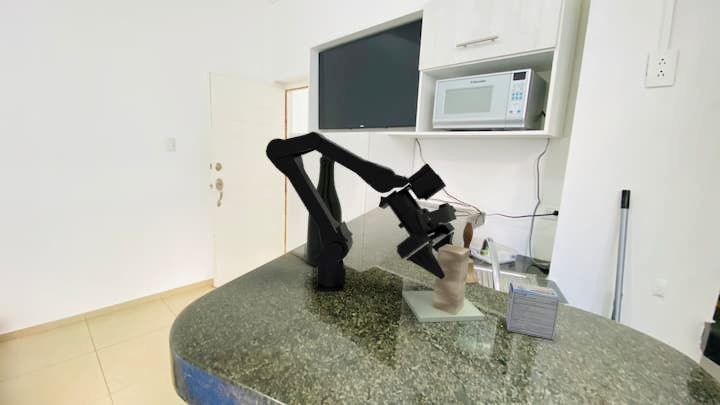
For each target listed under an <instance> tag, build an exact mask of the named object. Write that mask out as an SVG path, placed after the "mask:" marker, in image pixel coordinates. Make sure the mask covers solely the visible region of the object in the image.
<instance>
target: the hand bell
mask: <svg viewBox="0 0 720 405" xmlns="http://www.w3.org/2000/svg"><path fill="white" fill-rule="evenodd" d="M473 228H474V227H473V224H472V222H469V221H467V222H466V224H465V226H464V228H463V231H462V239H463V248H467V249H470V246H471V243H472V241H473V236H474V229H473ZM479 282H480V279H479V276H478V275H477V274H476V271H475V268H474V260H473V259H472V258H470V257H469V262H468V271H467V280H466V284H476V283H479Z"/></svg>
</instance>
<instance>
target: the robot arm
mask: <svg viewBox="0 0 720 405" xmlns="http://www.w3.org/2000/svg"><path fill="white" fill-rule="evenodd" d="M315 151H316V152H317V153H319V154H321V155H322V154H323V155H325V156H326V157H328V158H330V159H332V160H333V161H335V163H337V164H339V165H341V166H342V167H344V168H346V169H348V171H349V170H350V171H351V172H353V173H355V174H356V175H357V176H358V177H359V178H361V179H362V180H363V181H364V182H365V183H366V184H367V185H368V186H370V187H371V188H372V189H373V190H374V191H375V192H378V193H381V194H387V193H389V192H391V191H392V192H391V193H390V194H388V195H387V196H382V195H381V196H380V197H379V198H380V200H379V203H378V207H379V208H381V209H383V210H385V209H386V208H388V207H389V208H390V210H391V211H392V212H393V213H394V215H395V217H396V219H398V221H399V223H398V225H397V226H398V228H399V229H403V228H404V230H405V231H406V233H407V234H408V235H409V236H408V237H407V238H405V239H404V240H403V241H402V242H400V243H399V244H398V245H397V248H396V253H397V254H398V255H399V257H400V258H401V260H403V259H406V261H407V262H412V264H415V265H417V266H418V267H420V268H422V269H424V270H425V271H426V272H428V273H430V274H432V275H433V276H435V277H436V276H437V277H438V278H440V279H443V278H444V277H445V274H444V272H443V270H442V268H441V267H440V265H439V263H438V261H437V257H436V256H435V254H434V253H433V252H434V251H435V252H436V253H438V249H439V248H441V247H443V246H444V245H446V244H449V245H454V244H453V239H454V238H453V237H454V235H455V227H454V226H453V224H452V223H451V222H453V221H455V220H457V216H456V212H457V209H456V208H455V207H454V206H453V205H450V202H444V203H442V204H439V205H438V208H437V209H435V210H432V211H429V210H428V208H425V207H423V208H422V207H421V206H420V205H419V203H418V202H417V200H416V199H415V198H414V196H415V197H416V198H417V199H418V200H419V201H420V200H424V201H428V200H429V199H430V198H431V197H434V196H435V195H436V194H438V193H439V192H440V191H441V190H443V189H444V188H446V187H447V185H446V184H445V182H444V180H443V179H442V178H441V176H440V174H438V173H436V172H435V170H433V168H432V166H430V164H429V163H425V164H423V165H422V166H421V168H419V169H418V170H417V171H415V173H413V174H412V175H410V176H406V175H404V176H403V175H400V174H396V172H395V170H393V169H392V168H391V167H388V166H385V165H382V164H379V163H376V162H373V161H371V160H367V159H365V158H362V156H359V155H358V154H356V153H354V152H352V151H351V150H349V149H347V148H344V146H342V145H340V144H338V143H337V142H335V141H333V140H331V139H329V138H327V137H326V136H324V135H323V134H322V133H319V132H318V131H317V132H316V131H310V132H308V133H305V134H301V135H297V136H291V137H289V138H288V137H287V138H285V139H284V138H279V137H277V138H273V139H271V140H270V141H269V142H268V143H267V145H266V149H265V155H266V157H267V159H268V160H269V161H270V162H271V163H272V165H273V166H274V167H275V168H276V170H278V171H279V172H280V173H282V174H283V175H284V176H285V177H287V179H288V181H289V182H290V184H291V185H292V187H293V189H294V191H295V192H296V194H297V196H298V197H299V199H300V200H301V202H302V205H303V206H304V207H305V209H306V211H307V212H308V214H310V216H311V217H312V219H313V221H314V222H315V224H316V226H317V227H318V230H319V235H320V240H321V243H322V246H323V249H322V250H321V251H320V253H319V254H318V255H317V256H316V257H315V262H316V265H317V266H316V268H317V270H316V279H315V281H316V282H315V283H316V291H343V290H344V285H346V266H345V265H344V258H346V257H347V255H348V254H349V252H350V250H351V249H352V247H353V243H354V240H353V237H352V236H353V233H352V232H351V231H350V230H349V228H348V225H347V223H346V221H345V220H344V221H343V220H342V223H341V224H340V223H338V222H337V221H336V220H335V219H334V218H333V217H332V215H331V213H330V212H329V210H328V208H327V206H326V205H325V203H324V201H323V200H322V198H321V196H320V195H319V193H318V191H317V190H316V189H317V187H316V186H315V185H314V183H313V182H312V179H310V176H309V175H308V172H307V171H306V169H305V166H304V162H303V161H304V160H303V156H305V155H307V154H310V153H312V152H315ZM397 188H399V189H400V190H398V191H397V190H393V189H397ZM410 191H411V192H412V193H413V194H414V196H413V195H412V193H411V192H410Z"/></svg>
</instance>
